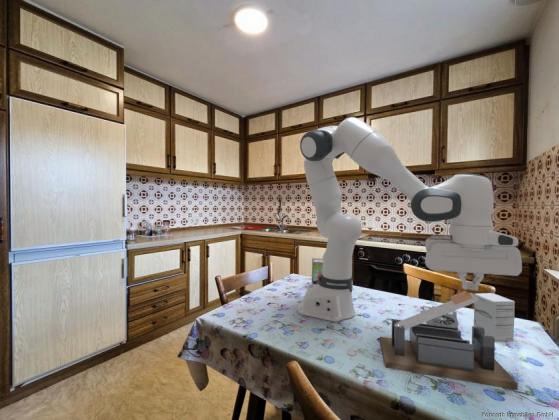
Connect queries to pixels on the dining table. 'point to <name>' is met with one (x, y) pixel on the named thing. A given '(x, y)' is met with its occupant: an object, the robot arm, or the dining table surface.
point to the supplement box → (495, 316)
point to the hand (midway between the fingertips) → (469, 289)
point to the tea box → (316, 269)
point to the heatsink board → (444, 372)
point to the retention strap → (439, 310)
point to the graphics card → (443, 319)
